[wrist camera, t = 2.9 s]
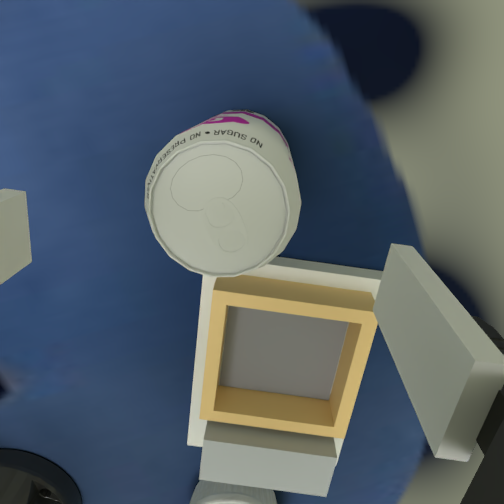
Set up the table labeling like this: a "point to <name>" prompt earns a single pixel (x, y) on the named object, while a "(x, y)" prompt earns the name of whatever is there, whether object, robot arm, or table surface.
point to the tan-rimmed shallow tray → (280, 372)
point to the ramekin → (230, 494)
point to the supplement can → (224, 195)
